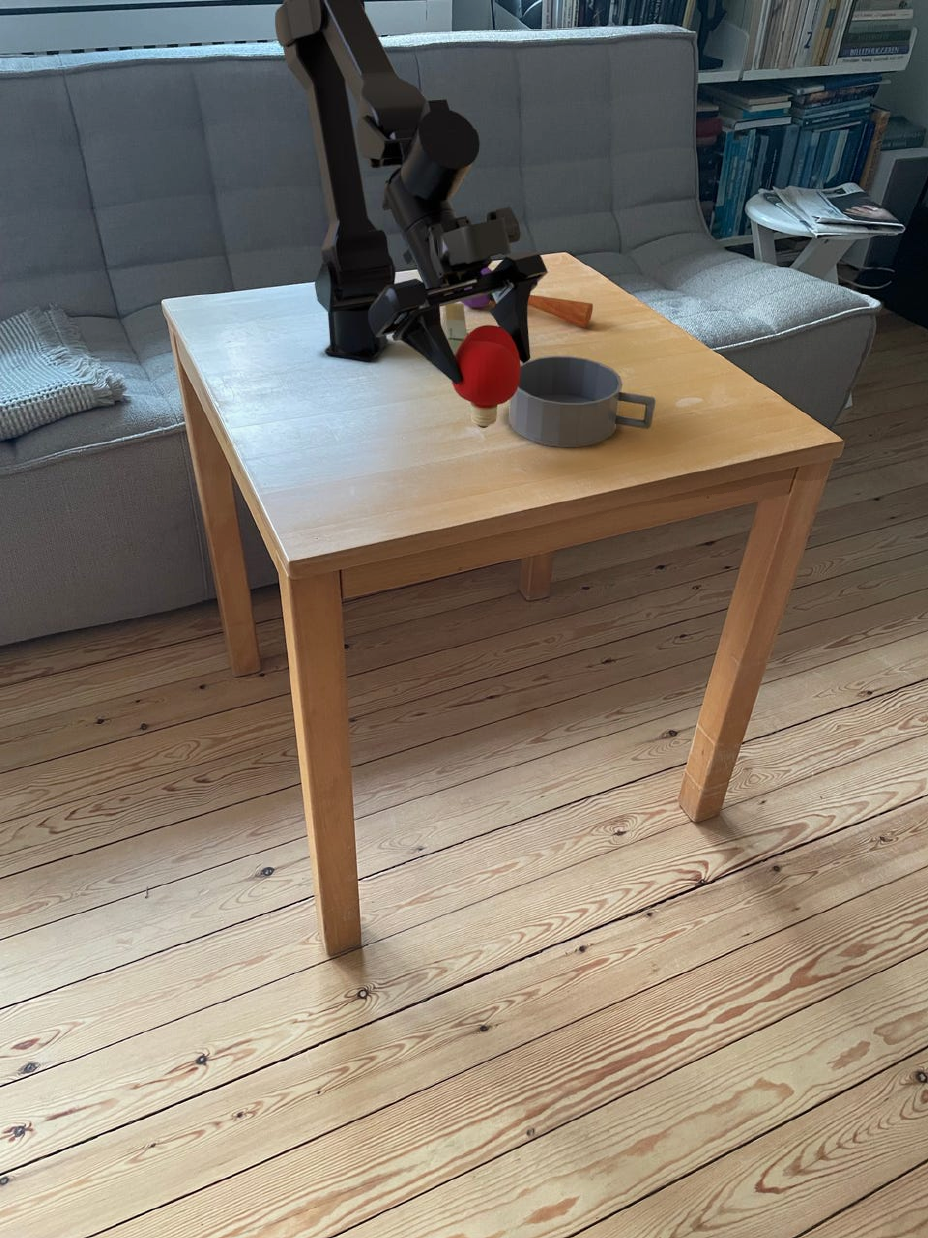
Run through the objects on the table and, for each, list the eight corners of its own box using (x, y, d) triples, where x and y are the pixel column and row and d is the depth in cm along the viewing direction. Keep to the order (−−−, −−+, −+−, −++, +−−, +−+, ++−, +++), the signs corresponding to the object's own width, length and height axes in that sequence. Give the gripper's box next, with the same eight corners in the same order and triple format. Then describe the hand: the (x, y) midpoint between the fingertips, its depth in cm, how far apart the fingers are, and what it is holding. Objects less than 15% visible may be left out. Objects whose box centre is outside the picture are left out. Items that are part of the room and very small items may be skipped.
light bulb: (508, 452, 94) (515, 359, 87) (441, 443, 94) (442, 350, 88) (522, 409, 100) (529, 320, 94) (459, 402, 101) (462, 313, 95)
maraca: (583, 307, 123) (448, 271, 129) (578, 345, 128) (448, 309, 133) (598, 285, 127) (466, 250, 132) (593, 323, 132) (465, 288, 137)
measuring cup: (495, 436, 104) (497, 393, 101) (524, 389, 113) (527, 349, 110) (640, 461, 100) (647, 418, 97) (658, 411, 110) (665, 370, 106)
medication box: (464, 370, 117) (468, 340, 115) (443, 369, 117) (447, 338, 114) (459, 330, 126) (463, 301, 124) (440, 328, 126) (443, 299, 123)
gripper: (379, 195, 80) (453, 361, 81) (543, 164, 89) (608, 314, 90) (338, 260, 90) (404, 408, 91) (489, 226, 99) (548, 361, 99)
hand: (493, 371), depth 92 cm, fingers closed on light bulb, 8 cm apart
